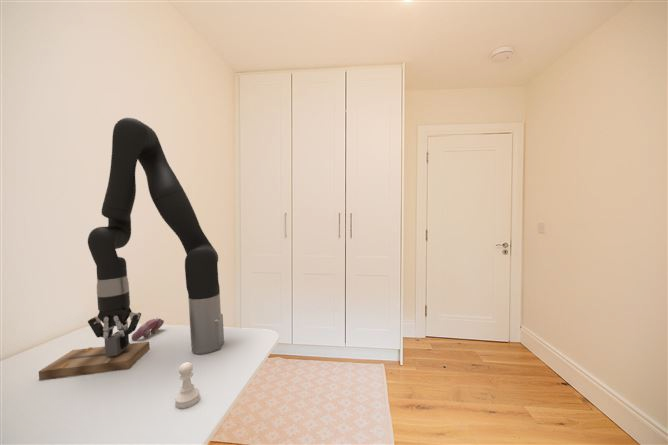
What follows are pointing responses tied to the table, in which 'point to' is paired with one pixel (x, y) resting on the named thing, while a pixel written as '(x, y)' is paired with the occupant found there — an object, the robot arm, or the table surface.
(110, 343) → the fader cap
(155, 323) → the video game controller
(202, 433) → the table surface
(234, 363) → the table surface
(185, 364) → the chess pawn
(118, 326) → the robot arm
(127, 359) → the fader base
